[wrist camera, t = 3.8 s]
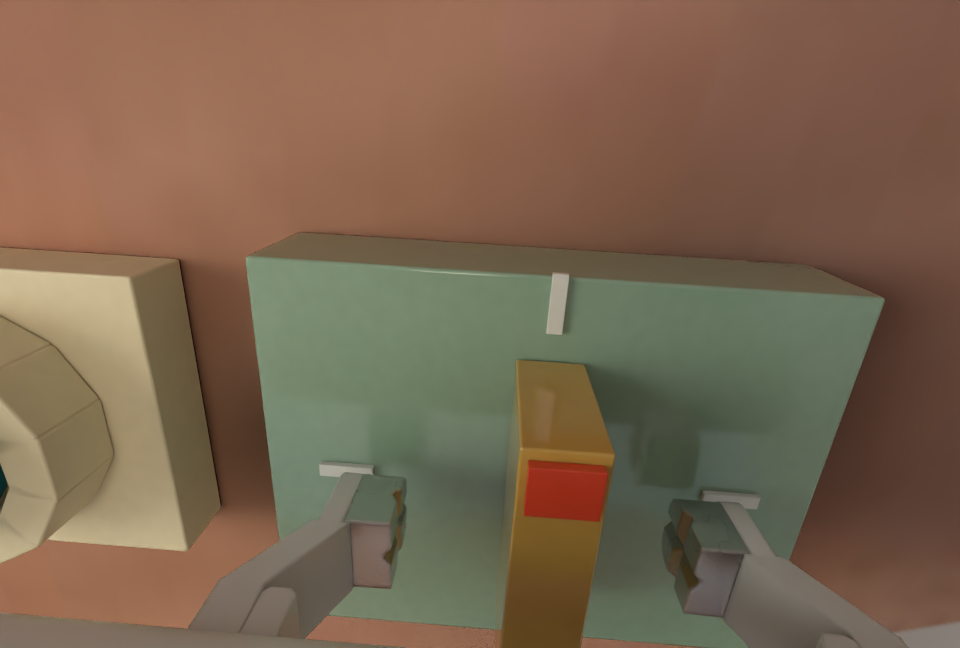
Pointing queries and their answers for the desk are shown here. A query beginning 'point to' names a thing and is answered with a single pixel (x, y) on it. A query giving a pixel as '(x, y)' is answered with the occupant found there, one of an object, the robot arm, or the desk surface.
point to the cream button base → (100, 404)
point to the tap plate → (489, 393)
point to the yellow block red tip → (551, 507)
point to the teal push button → (2, 482)
